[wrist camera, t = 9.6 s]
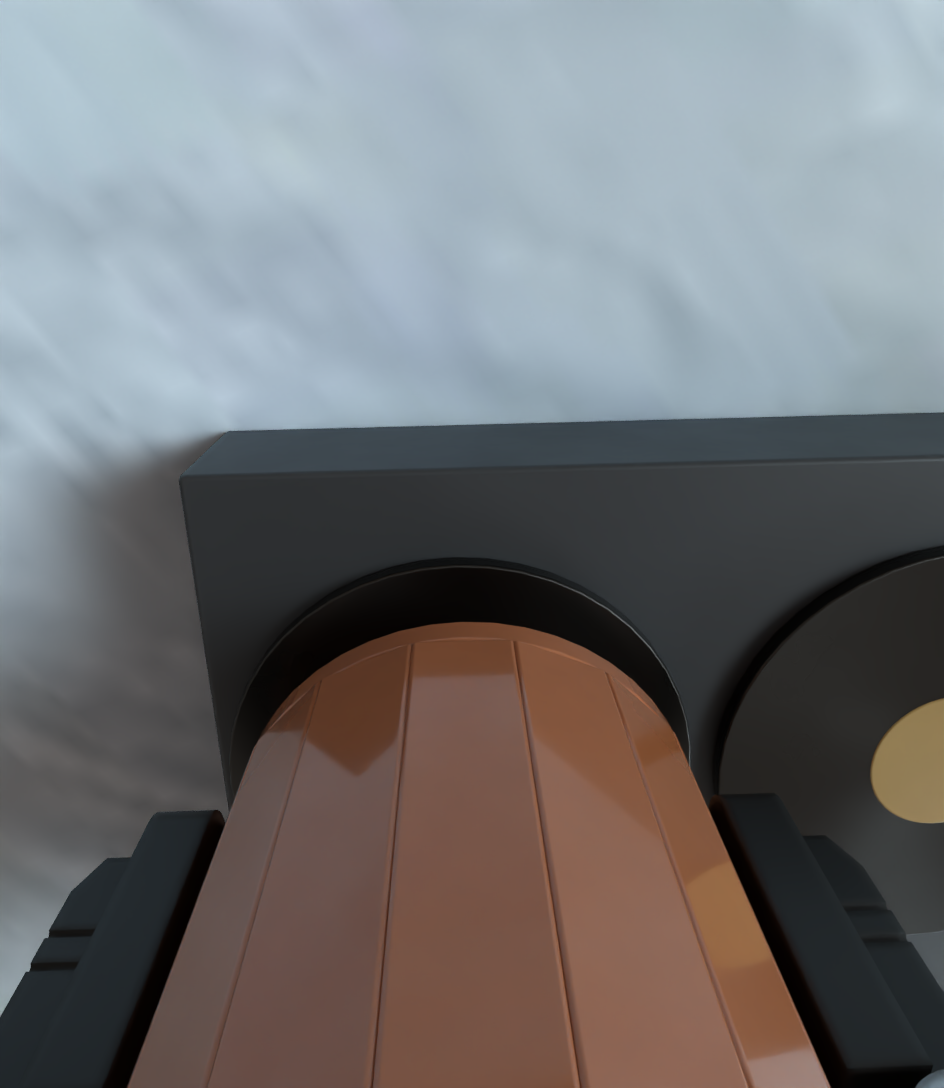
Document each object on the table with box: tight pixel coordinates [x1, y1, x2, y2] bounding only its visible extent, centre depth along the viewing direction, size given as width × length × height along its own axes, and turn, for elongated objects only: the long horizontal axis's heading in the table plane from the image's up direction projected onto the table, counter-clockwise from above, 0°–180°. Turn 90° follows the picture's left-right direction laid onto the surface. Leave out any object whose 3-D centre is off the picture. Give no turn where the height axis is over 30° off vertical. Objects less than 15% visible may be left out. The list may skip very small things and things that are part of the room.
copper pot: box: [127, 622, 831, 1088], centre depth 8 cm, size 6×6×6 cm
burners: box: [229, 546, 944, 935], centre depth 14 cm, size 14×16×1 cm
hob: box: [179, 413, 944, 992], centre depth 15 cm, size 15×19×3 cm
